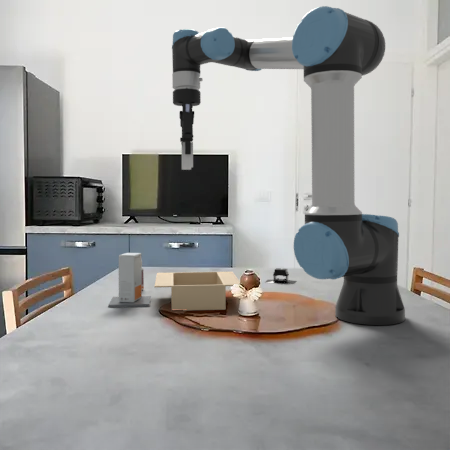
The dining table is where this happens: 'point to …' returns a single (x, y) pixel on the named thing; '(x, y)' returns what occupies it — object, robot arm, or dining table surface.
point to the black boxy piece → (282, 273)
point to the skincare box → (130, 277)
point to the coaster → (139, 303)
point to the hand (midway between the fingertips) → (187, 168)
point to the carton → (197, 289)
